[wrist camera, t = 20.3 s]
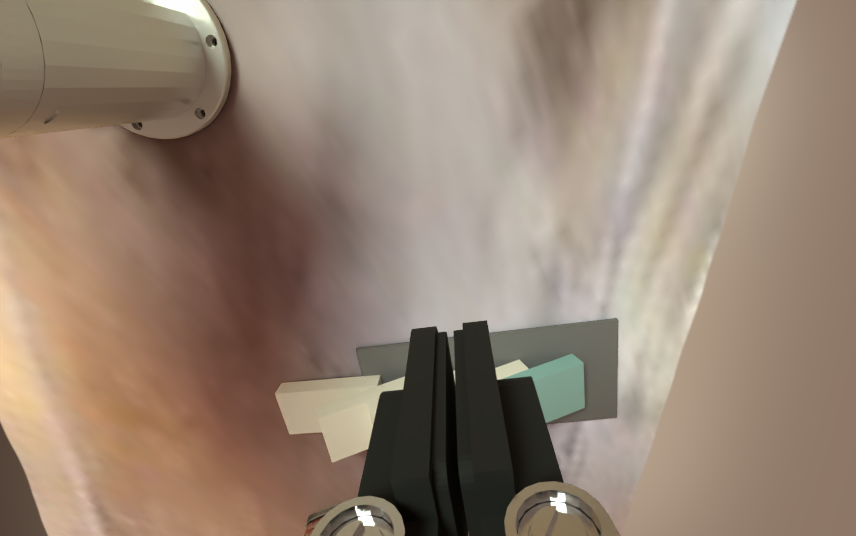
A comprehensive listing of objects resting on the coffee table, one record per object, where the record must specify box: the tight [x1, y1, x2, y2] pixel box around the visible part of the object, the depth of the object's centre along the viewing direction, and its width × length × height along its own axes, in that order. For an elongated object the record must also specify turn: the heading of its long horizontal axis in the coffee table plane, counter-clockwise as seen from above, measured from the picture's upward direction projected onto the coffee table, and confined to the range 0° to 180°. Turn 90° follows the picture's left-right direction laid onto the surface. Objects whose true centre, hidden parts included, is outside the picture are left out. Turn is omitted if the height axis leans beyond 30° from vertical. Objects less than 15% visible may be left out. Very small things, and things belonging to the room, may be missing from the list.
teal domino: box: [503, 354, 585, 423], centre depth 42 cm, size 2×6×11 cm
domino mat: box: [356, 318, 618, 424], centre depth 45 cm, size 26×12×1 cm, turn 99°
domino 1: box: [275, 375, 382, 434], centre depth 46 cm, size 2×6×11 cm
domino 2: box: [316, 376, 405, 463], centre depth 43 cm, size 2×6×11 cm
